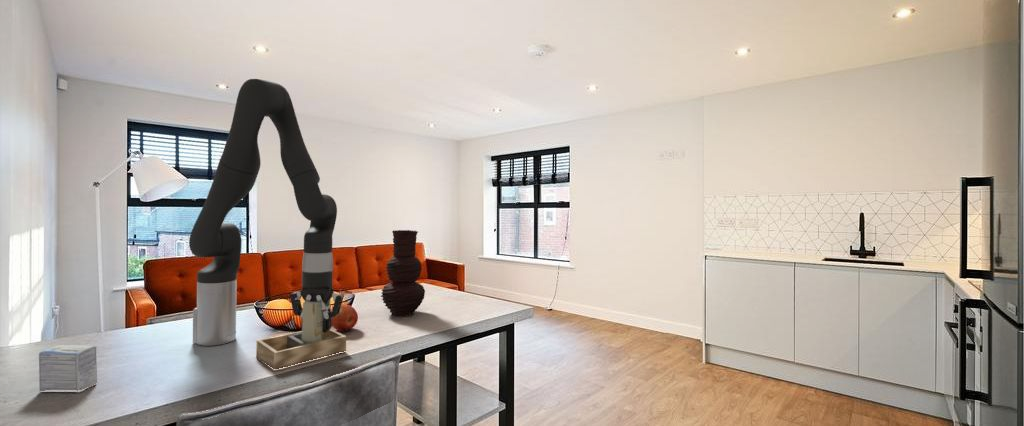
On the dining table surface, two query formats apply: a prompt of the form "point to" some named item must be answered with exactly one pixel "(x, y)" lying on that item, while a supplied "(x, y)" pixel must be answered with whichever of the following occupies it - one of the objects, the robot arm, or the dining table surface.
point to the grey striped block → (67, 367)
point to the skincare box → (313, 323)
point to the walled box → (297, 349)
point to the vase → (403, 276)
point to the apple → (345, 318)
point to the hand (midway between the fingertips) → (316, 330)
